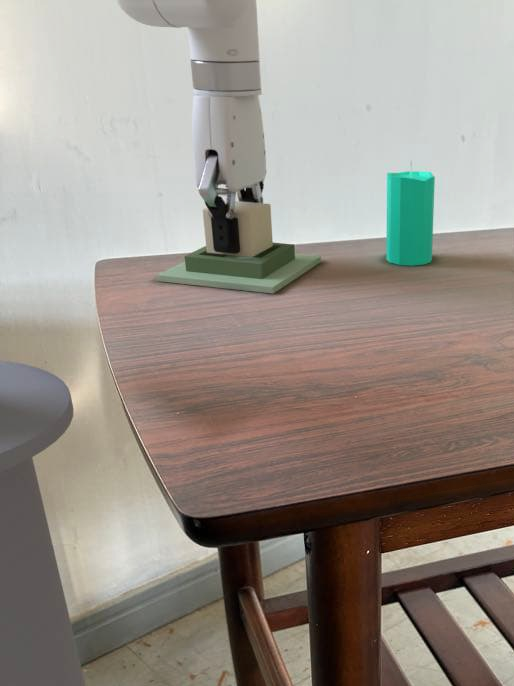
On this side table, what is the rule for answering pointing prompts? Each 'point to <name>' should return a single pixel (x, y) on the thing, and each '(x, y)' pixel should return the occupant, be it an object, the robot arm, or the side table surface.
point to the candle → (410, 217)
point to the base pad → (242, 269)
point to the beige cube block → (246, 228)
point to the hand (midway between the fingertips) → (239, 244)
